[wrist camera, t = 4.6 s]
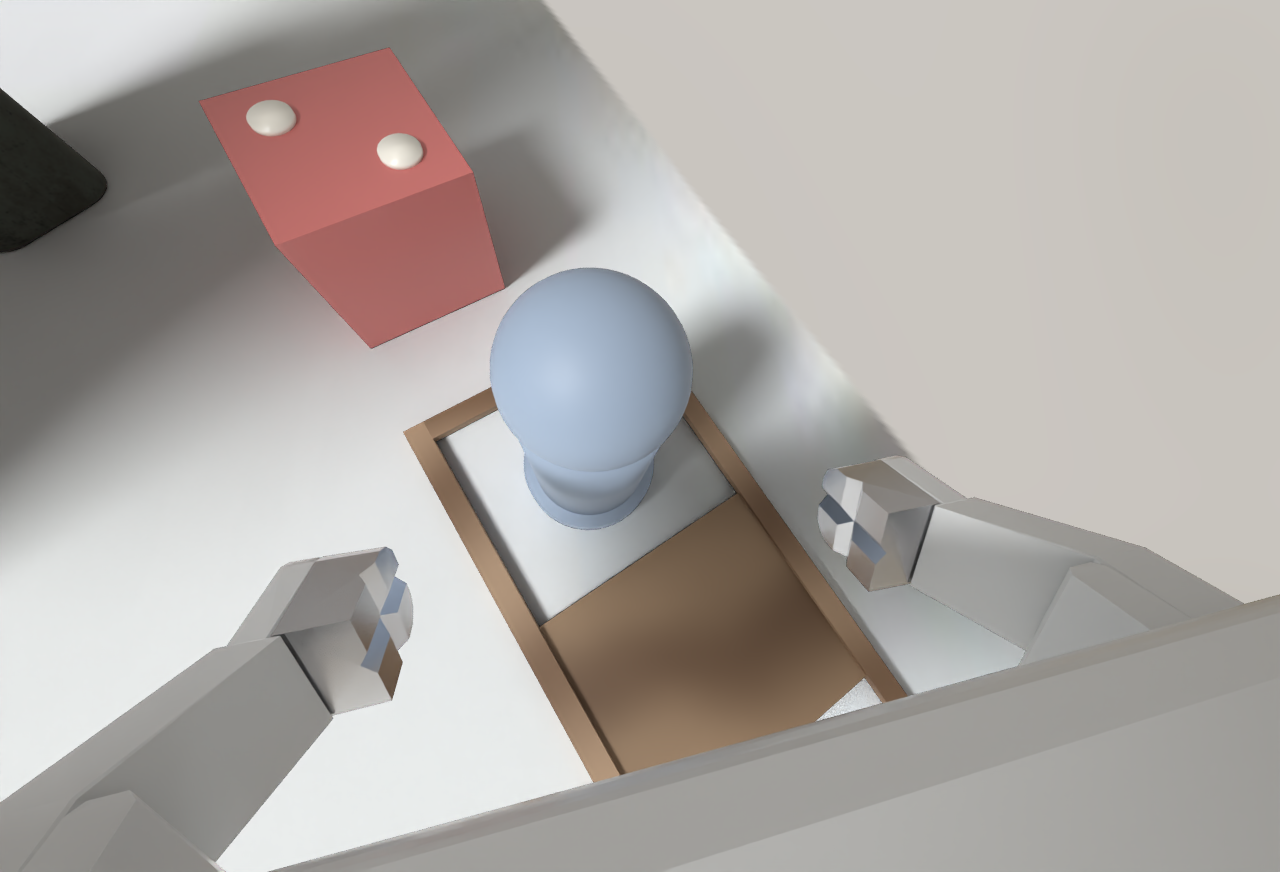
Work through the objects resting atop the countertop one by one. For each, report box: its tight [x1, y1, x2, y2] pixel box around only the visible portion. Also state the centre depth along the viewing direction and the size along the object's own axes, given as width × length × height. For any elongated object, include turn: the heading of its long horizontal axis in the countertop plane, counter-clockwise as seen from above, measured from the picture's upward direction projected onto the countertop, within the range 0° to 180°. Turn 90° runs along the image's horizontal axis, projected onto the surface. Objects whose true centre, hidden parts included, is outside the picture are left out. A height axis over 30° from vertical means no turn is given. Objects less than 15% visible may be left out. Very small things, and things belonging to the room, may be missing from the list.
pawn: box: [490, 268, 693, 530], centre depth 13 cm, size 5×5×11 cm
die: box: [199, 47, 505, 348], centre depth 17 cm, size 6×6×6 cm
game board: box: [403, 387, 907, 782], centre depth 15 cm, size 34×11×1 cm, turn 33°
